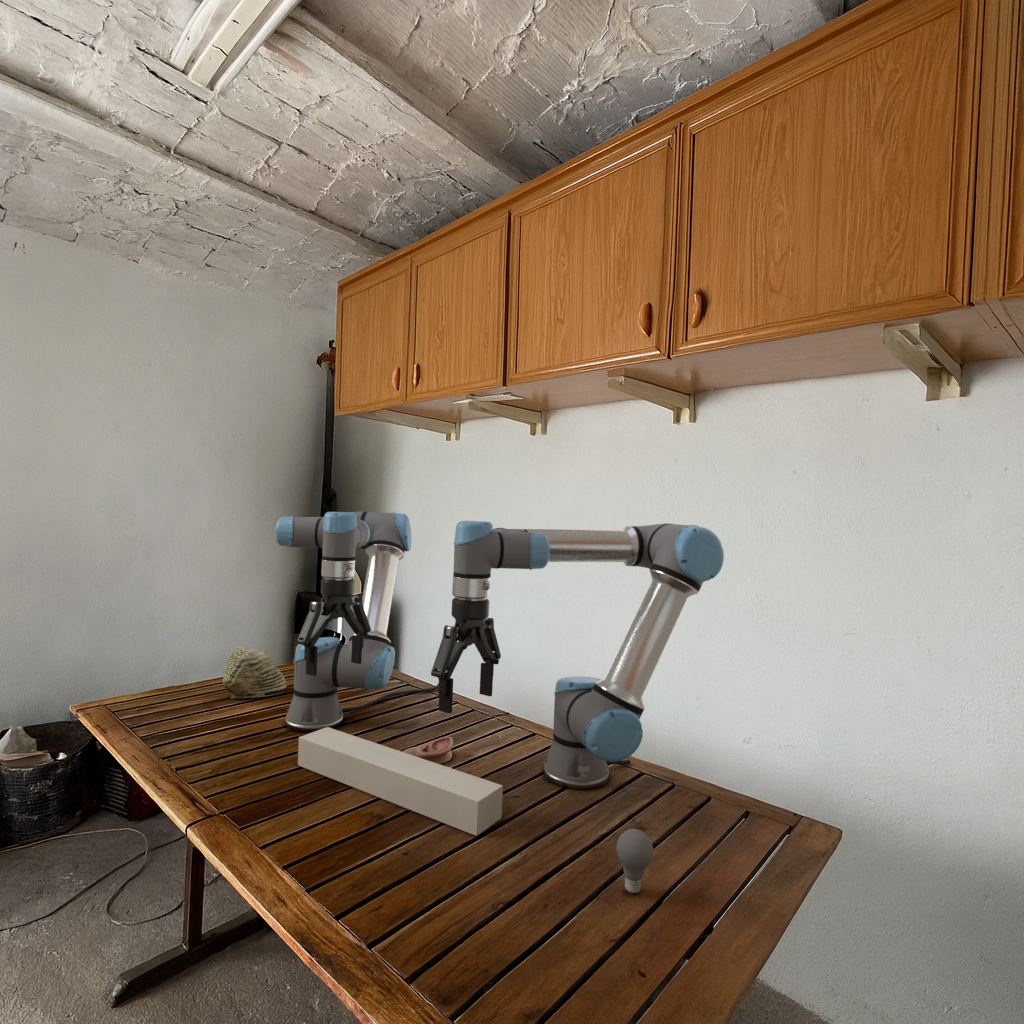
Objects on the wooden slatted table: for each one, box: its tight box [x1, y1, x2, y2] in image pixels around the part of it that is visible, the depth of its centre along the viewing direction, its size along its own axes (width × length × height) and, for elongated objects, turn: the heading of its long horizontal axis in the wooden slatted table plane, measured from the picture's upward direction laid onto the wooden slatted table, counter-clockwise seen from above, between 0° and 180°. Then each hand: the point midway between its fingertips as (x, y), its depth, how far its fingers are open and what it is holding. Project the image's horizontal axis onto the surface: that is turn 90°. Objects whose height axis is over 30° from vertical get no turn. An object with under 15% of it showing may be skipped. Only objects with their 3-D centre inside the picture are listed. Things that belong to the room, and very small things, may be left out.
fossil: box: [222, 646, 288, 699], centre depth 198 cm, size 9×18×15 cm, turn 132°
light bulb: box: [615, 828, 654, 894], centre depth 106 cm, size 6×6×10 cm
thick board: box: [297, 727, 504, 837], centre depth 138 cm, size 52×9×7 cm, turn 57°
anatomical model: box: [401, 736, 454, 765], centre depth 156 cm, size 13×4×12 cm
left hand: (334, 668), depth 148 cm, fingers open, 13 cm apart
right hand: (466, 703), depth 127 cm, fingers open, 13 cm apart
